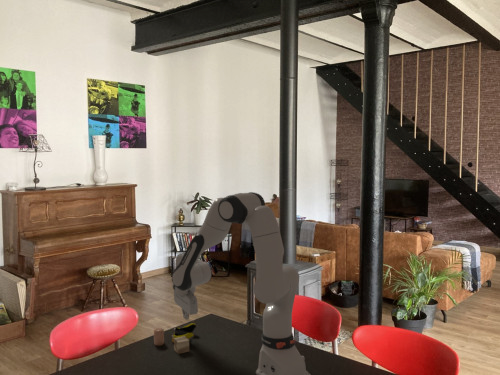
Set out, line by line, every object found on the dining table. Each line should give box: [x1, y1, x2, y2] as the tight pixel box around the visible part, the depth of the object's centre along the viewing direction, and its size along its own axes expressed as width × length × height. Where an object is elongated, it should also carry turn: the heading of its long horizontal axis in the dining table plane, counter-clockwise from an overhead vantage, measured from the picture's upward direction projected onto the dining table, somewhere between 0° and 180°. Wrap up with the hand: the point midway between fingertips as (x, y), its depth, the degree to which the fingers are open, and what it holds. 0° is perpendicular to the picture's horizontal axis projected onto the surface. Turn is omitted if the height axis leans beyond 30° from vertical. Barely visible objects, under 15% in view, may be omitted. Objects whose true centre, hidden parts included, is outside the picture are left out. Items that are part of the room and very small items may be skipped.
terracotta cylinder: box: [153, 327, 165, 347], centre depth 203 cm, size 4×4×6 cm
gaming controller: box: [171, 322, 197, 343], centre depth 207 cm, size 15×6×10 cm
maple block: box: [173, 336, 190, 355], centre depth 196 cm, size 5×5×5 cm
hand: (186, 318), depth 207 cm, fingers closed
